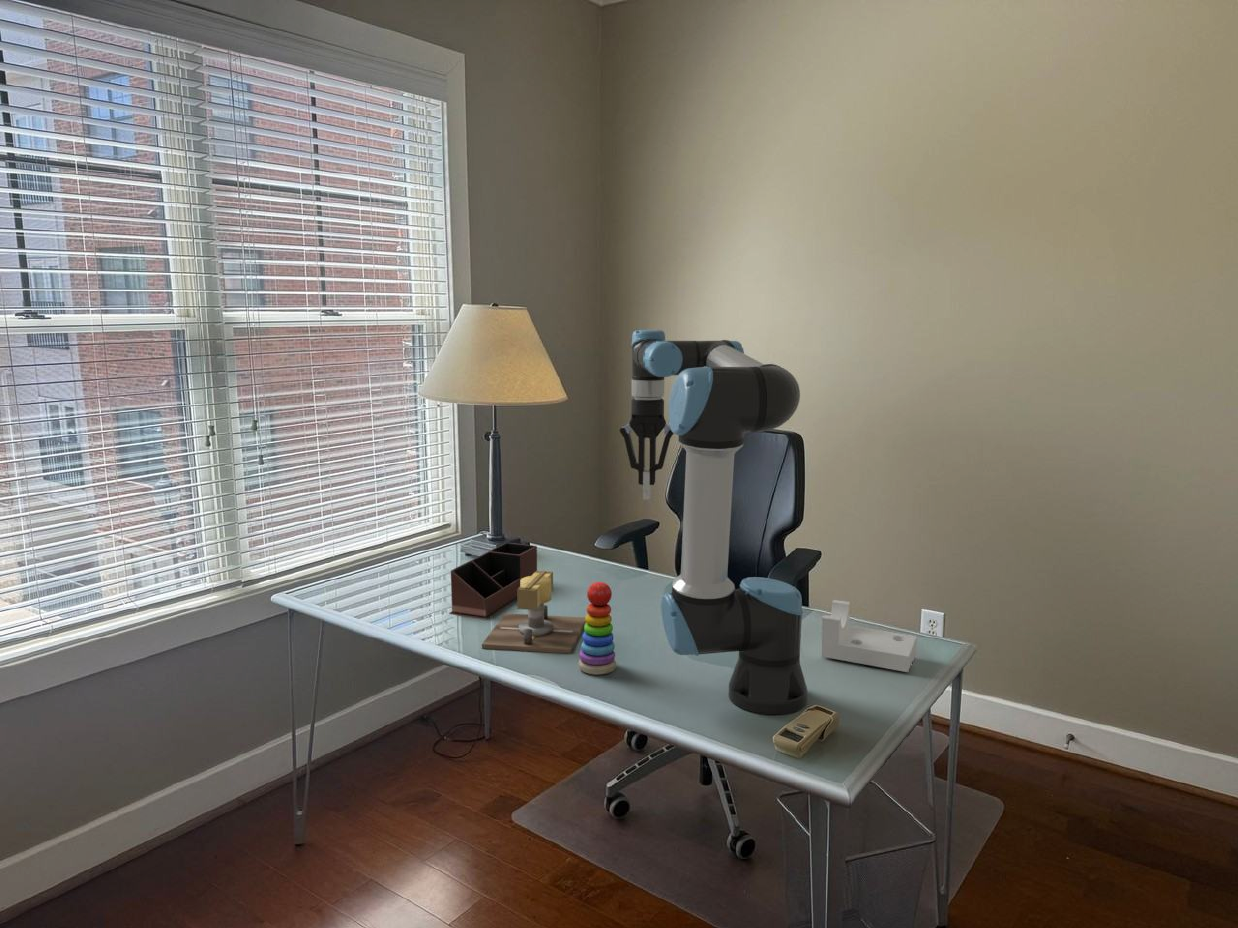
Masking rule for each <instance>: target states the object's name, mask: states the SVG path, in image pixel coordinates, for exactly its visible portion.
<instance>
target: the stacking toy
mask: <svg viewBox="0 0 1238 928" xmlns="http://www.w3.org/2000/svg"><path fill="white" fill-rule="evenodd" d="M612 594H613V593H612V589H611V587H610V586H609V585H608V584H607V583H606V582H603V581H595V582H593V583H592V584H590V585H589V587H588V589H587V593H586V596H587V599H588V602H589V603H590V604H588V605H587V607H586V612H587V614H586V615H585V621H586V624H585V626H584V628H583V629H584V630H583V631H584V632H583V633H582V643H581V645H580V648H581V649H580V651H579V654H578V656H579V660H578V665H577V666H578V668H579V670H581V672H583V673H586V674H589V675H594V676H595V675H598V676H599V675H605V674H606V675H607V674H609V673H612V672H614V670H615V669H616V668H617V661H616V652H615V647H616V646H615V642H614V633H612V632H613V629H614V627H613V624H612V621H613V619H612V615H611V612H612V607H611V605H609V604H608V603H609V602H610V601H611V600H612Z"/></svg>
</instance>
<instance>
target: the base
mask: <svg viewBox="0 0 1238 928" xmlns="http://www.w3.org/2000/svg"><path fill="white" fill-rule="evenodd" d="M527 612H528V614H525V613H524V614H523V613H510V612H509V613H506V612H505V613H504V615H502V617H501V618H500V620H499V621H498V622H497V624H496V625H495V626H494V628H492V629H491V632H490V633H489V634H488V636H486V638H485V639H484V641H483V642H482V643H481V649H486V650H501V651H502V650H503V651H504V650H505V651H522V652H536V653H538V652H540V653H554V654H555V653H557V654H572V652H573V650H574V648H575V646H576V644H577V642H578V640H579V637H580V636H581V634H582V631H584V630H583V629H584V626H585V624H586V621H585V617H586V616H585V617H582V616H564V615H562V616H561V615H548V614H549V613H548V605H547V604H545V603H543V604H540V605H539V606H538V607H537V609H536V610H527Z"/></svg>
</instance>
